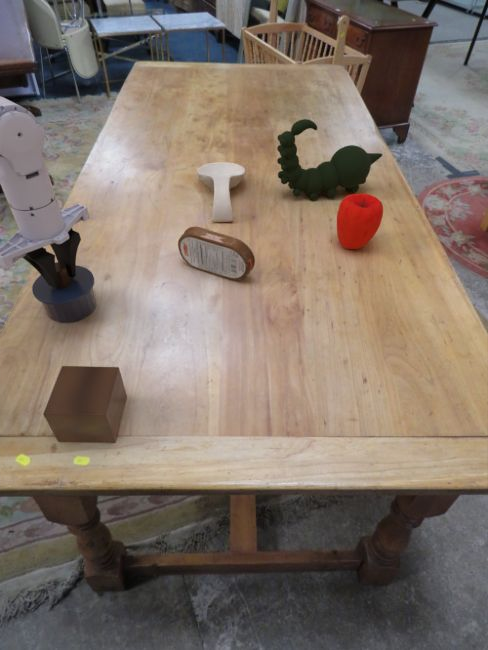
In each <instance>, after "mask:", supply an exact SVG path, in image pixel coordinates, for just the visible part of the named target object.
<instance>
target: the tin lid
mask: <svg viewBox="0 0 488 650" xmlns="http://www.w3.org/2000/svg"><path fill="white" fill-rule="evenodd" d="M55 266H56V271H57V274H58V277H59V280H60V283H61V287H60V288H59V289H56V288H54V287H51V286H49V285H48V284H47V282H46V281H45V279H44V278H43V277H42V275H41V274H40V275H39V276H38V277H36V279H35V280H34V282H33V284H32V286H31V287H32V288H31V291H32V294H33V296H34V298H35V299H36V301H38V302H40V303H42V304H43V303H44V304H47V305H65V304H69V303H73V302H75V301H78V300H80V299H81V298H83V297H85V296H86V295H87V294H88V293H89V292H90V291H91V290H92V288H93V289H94V285H95V277H94V274H93V272H92V271H91V270H90V269H88V268H87V267H85V266H81V265H76V276H75V277H74V278H71V277H70V275H69V272H68V270H67V267H66V264H65V263H63V262H58V261H57V262H56V261H55Z"/></svg>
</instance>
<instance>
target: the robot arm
mask: <svg viewBox="0 0 488 650" xmlns="http://www.w3.org/2000/svg"><path fill="white" fill-rule="evenodd" d="M44 143H45V128H44V125H41V124H39V121H38V120H37V118H36V116H35V115H34V114H33V112H31V111H29V110H28V109H27V108H26V107H24V106H22V105H20V104H17V103H15V102H14V101H12V100H9V99H8V98H5V97H4V96H2V95H0V186H1V187H0V188H1V189H2V192H3V194H4V196H5V199H6V201H7V204H8V207H9V209H10V211H11V213H12V216H13V218H14V221H15V223H16V225H17V228H18V230H17V231H16V232H15V233H13V235H12V236H11V237H10V238H9V239H8V240H7V241H6V242H5V243H4V244H3V245H2V246H1V247H0V267H1V268H4V269H6V270H10V269H12V268H14V267H15V263H16V262H18V261H19V260H20V259H24V260H25V262H27V263H28V264H30V265H31V266H32V267H33V268H34V269H35V270H36V271H37V273H39V274H40V275H42V277H43V278H44V279H45V281H46V282H47V284H48V285H49V286H51V287H54V288H56V289H59V288H60V287H61V283H60V280H59V277H58V274H57V271H56V266H55V263H56V260H57V262H63V263H65V264H66V267H67V270H68V272H69V275H70V277H71V278H74V277H75V276H76V263H77V253H78V250H79V249H78V248H79V246H80V244H81V241H82V238H81V234H80V232H78V231H76V230H73V227H74V226H75V225H76V224H78V223H80V222H81V221H83V222H86V221H88V220H90V219H91V217H90V213H89V210H88V207H87V206H85V205H83V204H80V203H75V204H73V205H71V206H69V207H66V208H63V209H61V208H60V205H59V202H58V199H57V196H56V193H55V189H54V187H53V183H52V181H51V178H50V177H51V176H50V175H49V171H48V168H47V165H46V162H45V160H44V157H43V154H42V149H43V146H44ZM47 246H50V247H51V250H52V251H53V253H52V252H49V251H47V249H46V248H45V247H47Z"/></svg>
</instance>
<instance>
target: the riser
mask: <svg viewBox="0 0 488 650" xmlns="http://www.w3.org/2000/svg"><path fill="white" fill-rule="evenodd" d="M122 377H123V376H122V373H121V370H120V367H119V366H85V365H83V366H82V365H81V366H78V365H62V366H61V368H60V370H59V373H58V375H57V377H56V380H55V383H54V386H53V387H52V390H51V393H50V396H49V398H48V401H47V402H46V403H47V404H46V405H45V408H44V410H43V413H42V415H43V416H44V419H45V420H46V422H47V424H48V426H49V428H50V429H51V432H52V433H53V435H54V438H55V439H56V441H57V442H58V443H59V442H61V443H62V442H63V443H105V444H106V443H107V444H108V443H109V444H110V443H111V444H113V443H114V444H115V443H117V438H118V434H119V430H120V426H121V421H122V417H123V414H124V409H125V405H126V401H127V397H128V395H127V391H126V388H125V385H124V381H123V378H122Z"/></svg>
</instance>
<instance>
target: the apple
mask: <svg viewBox="0 0 488 650" xmlns="http://www.w3.org/2000/svg"><path fill="white" fill-rule="evenodd" d="M383 216H384V205H383V202H382V201H381V200H380V199H379V198H377V197H376V196H374V195H372V194H370V193H369V194H368V193H364V192H363V193H350V194H348V195H346V196H344V197H343V198H342V200H341V202H340V203H339V205H338V210H337V214H336V235H337V238H338V242H339V245H340V246H341V247H343V248H344V249H347V250H359V249H361V248H363V247H365V246H366V245H367V244H368V243H369V242H371V240H372V239H373V238H374V237H375V235H376V233H377V232H378V230H379V228H380V226H381V223H382V219H383Z"/></svg>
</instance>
